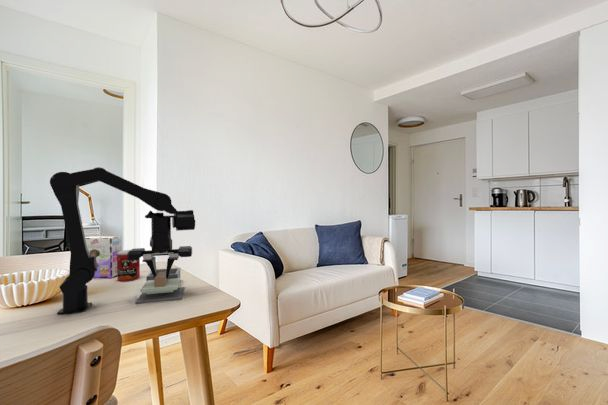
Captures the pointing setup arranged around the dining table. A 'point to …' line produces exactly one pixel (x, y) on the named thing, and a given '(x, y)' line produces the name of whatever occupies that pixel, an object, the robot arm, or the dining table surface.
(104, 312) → the dining table surface
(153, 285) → the lid
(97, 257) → the candy box
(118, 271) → the canned food
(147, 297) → the mat
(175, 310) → the dining table surface
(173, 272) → the storage box
